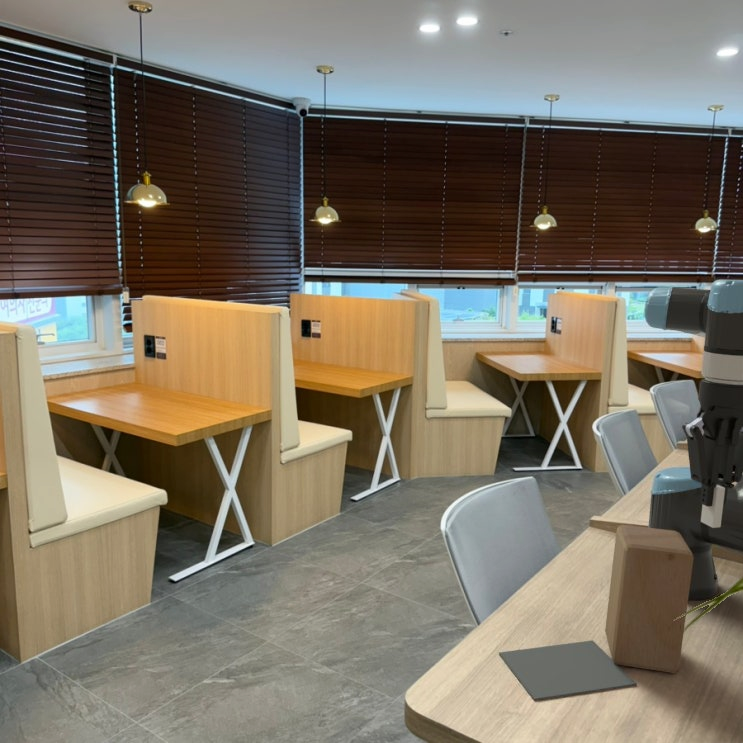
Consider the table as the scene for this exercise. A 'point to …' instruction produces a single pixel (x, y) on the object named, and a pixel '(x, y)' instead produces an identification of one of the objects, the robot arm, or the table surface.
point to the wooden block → (648, 598)
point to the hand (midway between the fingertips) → (710, 524)
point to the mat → (565, 670)
